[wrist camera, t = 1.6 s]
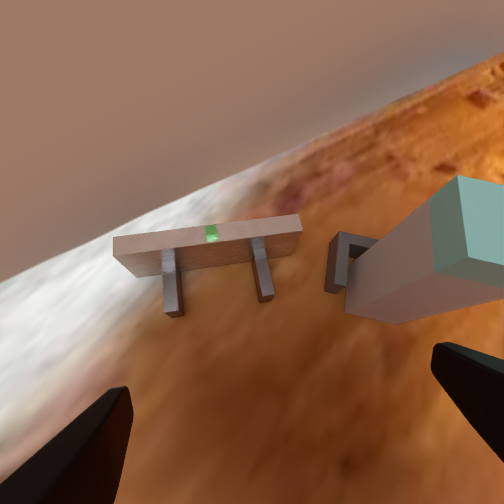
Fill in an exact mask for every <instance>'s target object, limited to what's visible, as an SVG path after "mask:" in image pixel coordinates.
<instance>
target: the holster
mask: <svg viewBox="0 0 504 504" xmlns="http://www.w3.org/2000/svg"><path fill="white" fill-rule="evenodd" d="M378 241H379V240H376V239H371V238H367V237H363V236H358V235H354V234H350V233H345V232H341V231H339V232H338V233H337V234H336V236H335V237H334V238H333V239H332V241H331V242H330V244H329V253H328V262H327V271H326V281H325V290H324V291H325V292H330V293H334V294H336V293H337V292H339V291H340V290H342V289H343V288H345V287H346V284H347V271H348V257H352V258H356V259H357V258H358V257H360V256H361V255H362V254H363V253H364V252H366V251H367V250H368V249H369V248H370V247H372V246H373V245H374V244H375V243H376V242H378Z"/></svg>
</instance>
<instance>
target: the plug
mask: <svg viewBox="0 0 504 504" xmlns="http://www.w3.org/2000/svg"><path fill="white" fill-rule="evenodd" d="M499 299H504V185H500V184H496V183H491V182H487V181H482V180H478V179H473V178H469V177H464V176H460V175H457V176H455V177H454V178H453V179H452V180H451V181H449V182H448V183H447V184H446V185H445V186H443V187H442V188H441V189H440V190H439V191H437V192H436V193H435V194H434V195H433V196H431V197H430V198H429V199H428V200H427V201H425V202H424V203H423V204H422V205H421V206H419V207H418V208H417V209H416V210H415V211H414V212H412V213H411V214H410V215H409V216H408V217H406V218H405V219H404V220H403V221H402V222H400V223H399V224H398V225H397V226H396V227H394V228H393V229H392V230H391V231H390V232H388V233H387V234H386V235H385V236H384V237H382V238H381V239H380V240H379V241H378V242H376V243H375V244H374V245H373V246H372V247H370V248H369V249H368V250H367V251H366V252H364V253H363V254H362V255H361V256H360V257H358V258H357V259H356V260H355V261H354V262H353V263H351V264H350V265H349V266H348V274H347V288H346V302H345V313H348V314H352V315H357V316H361V317H365V318H369V319H374V320H378V321H382V322H386V323H391V324H399V323H403V322H407V321H412V320H416V319H420V318H424V317H428V316H433V315H437V314H441V313H445V312H449V311H453V310H458V309H462V308H466V307H470V306H474V305H479V304H483V303H487V302H491V301H495V300H499Z"/></svg>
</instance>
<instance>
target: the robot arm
mask: <svg viewBox="0 0 504 504" xmlns="http://www.w3.org/2000/svg"><path fill="white" fill-rule="evenodd" d="M431 371H432V373H433V375H434V376H435V378H436V379H437V380H438V382H439V383H440V384H441V386H442V387H443V388H444V390H445V391H446V392H447V394H448V395H449V396H450V398H451V399H452V400H453V402H454V403H455V404H456V406H457V407H458V408H459V410H460V411H461V412H462V414H463V415H464V416H465V418H466V419H467V420H468V422H469V423H470V424H471V425H472V427H473V428H474V429H475V430H476V431H477V433H478V434H479V435H480V436H481V437H482V438H483V440H484V441H485V442H486V443H487V444H488V445H489V446H490V448H491V449H492V450H493V451H494V452H495V453H496V454H497V456H498V457H499V458H500V459H501V460H502V461H503V463H504V360H502V359H499V358H496V357H493V356H490V355H487V354H484V353H481V352H478V351H475V350H472V349H469V348H466V347H463V346H460V345H457V344H454V343H451V342H444V343H437V344H435V346H434V347H433V353H432V360H431ZM133 415H134V412H133V406H132V401H131V397H130V392H129V389H128V387H126V386H120V387H113V388H110V389H109V390H108V391H106V392H105V393H104V394H103V395H102V396H101V397H100V398H98V399H97V400H96V401H95V402H94V403H93V404H91V405H90V406H89V407H88V408H87V409H86V410H85V411H83V412H82V413H81V414H80V415H79V416H78V417H76V418H75V419H74V420H73V421H72V422H71V423H70V424H68V425H67V426H66V427H65V428H64V429H63V430H61V431H60V432H59V433H58V434H57V435H56V436H55V437H53V438H52V439H51V440H50V441H49V442H48V443H46V444H45V445H44V446H43V447H42V448H41V449H40V450H38V451H37V452H36V453H35V454H34V455H33V456H32V457H30V458H29V459H28V460H27V461H26V462H25V463H23V464H22V465H21V466H20V467H19V468H18V469H17V470H15V471H14V472H13V473H12V474H11V475H10V476H8V477H7V478H6V479H5V480H4V481H3V482H2V483H0V504H114V501H115V497H116V494H117V490H118V487H119V482H120V478H121V474H122V469H123V464H124V460H125V455H126V451H127V446H128V441H129V437H130V432H131V427H132V423H133Z"/></svg>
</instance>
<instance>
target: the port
mask: <svg viewBox="0 0 504 504" xmlns="http://www.w3.org/2000/svg"><path fill="white" fill-rule="evenodd" d="M302 231H303V229H302V225H301V222H300V218H299V215H298V214H294V215H286V216H278V217H270V218H262V219H254V220H246V221H238V222H230V223H222V224H214V225H206V226H198V227H190V228H182V229H174V230H166V231H158V232H150V233H142V234H134V235H126V236H118V237H113V257H114V258H115V259H117V260H118V261H119V262H120V263H121V264H122V265H123V266H124V267H125V268H127V269H128V270H129V271H130V272H131V273H132V274H133V275H134V276H135V277H137V278H139V277H145V276H152V275H159V274H163V292H164V311H165V313H166V314H167V315H168V316H170V317H171V318H175V317H180V316H184V311H183V298H182V286H181V274H180V271H186V270H193V269H200V268H206V267H213V266H220V265H227V264H234V263H240V262H247V261H251V262H252V268H253V273H254V278H255V283H256V288H257V293H258V298H259V303H262V302H268V301H271V300H272V298H273V296H274V295H275V292H274V288H273V283H272V279H271V274H270V270H269V265H268V261H267V259H268V258H274V257H281V256H288V255H290V254H291V252H292V250H293V248H294V246H295V245H296V243H297V241H298V239H299V237H300V235H301V233H302Z"/></svg>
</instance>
